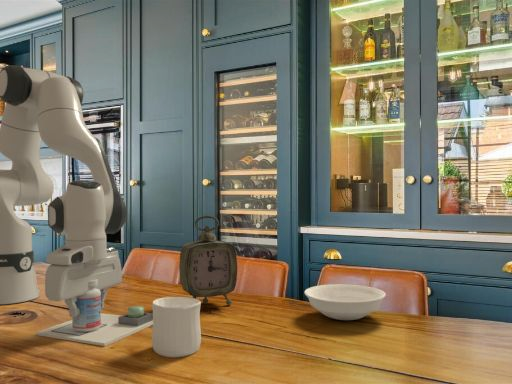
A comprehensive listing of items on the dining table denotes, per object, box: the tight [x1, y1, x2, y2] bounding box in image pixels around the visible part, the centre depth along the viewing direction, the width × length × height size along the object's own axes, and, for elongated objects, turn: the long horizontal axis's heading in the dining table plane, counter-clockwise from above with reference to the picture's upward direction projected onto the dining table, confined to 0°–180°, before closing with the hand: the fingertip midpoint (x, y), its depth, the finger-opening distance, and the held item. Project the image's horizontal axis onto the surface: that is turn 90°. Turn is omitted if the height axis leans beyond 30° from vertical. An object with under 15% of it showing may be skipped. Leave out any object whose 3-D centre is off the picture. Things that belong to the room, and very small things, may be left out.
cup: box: [151, 296, 202, 358], centre depth 92 cm, size 10×10×10 cm
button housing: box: [118, 311, 153, 326], centre depth 110 cm, size 6×6×2 cm
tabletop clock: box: [178, 215, 238, 306], centre depth 127 cm, size 14×9×25 cm, turn 114°
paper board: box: [35, 312, 153, 347], centre depth 107 cm, size 20×18×1 cm
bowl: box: [304, 283, 387, 321], centre depth 113 cm, size 20×20×6 cm
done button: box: [127, 305, 145, 318], centre depth 110 cm, size 4×4×2 cm
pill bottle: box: [72, 279, 102, 332], centre depth 105 cm, size 6×6×11 cm
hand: (87, 312), depth 104 cm, fingers closed on pill bottle, 6 cm apart
